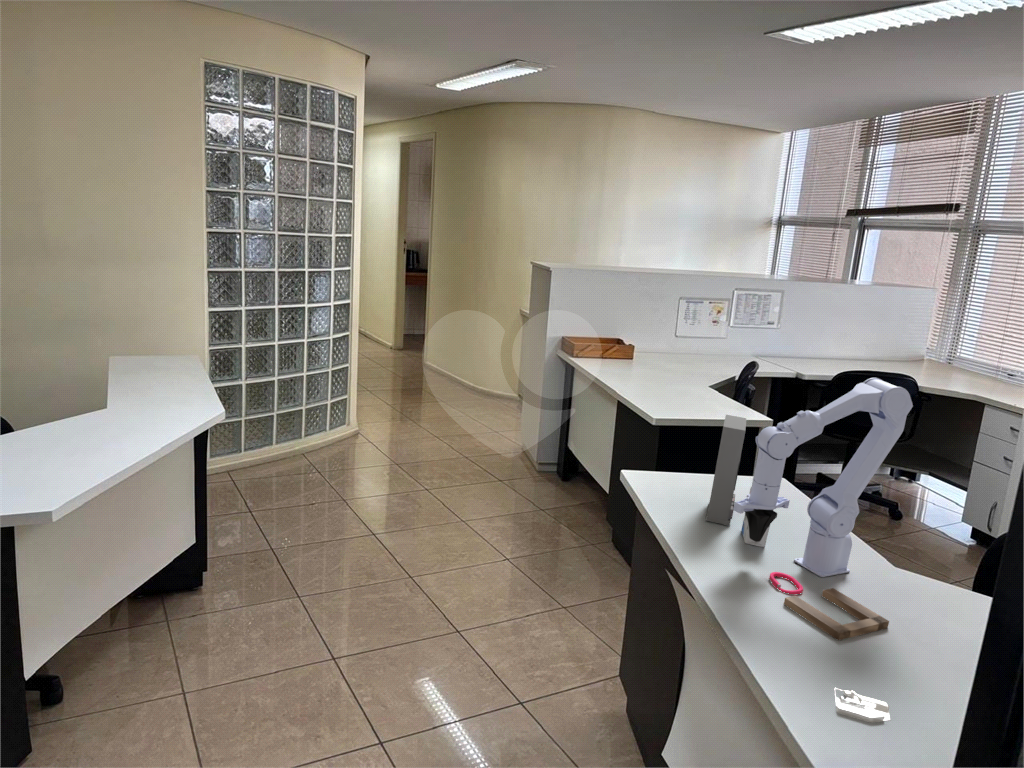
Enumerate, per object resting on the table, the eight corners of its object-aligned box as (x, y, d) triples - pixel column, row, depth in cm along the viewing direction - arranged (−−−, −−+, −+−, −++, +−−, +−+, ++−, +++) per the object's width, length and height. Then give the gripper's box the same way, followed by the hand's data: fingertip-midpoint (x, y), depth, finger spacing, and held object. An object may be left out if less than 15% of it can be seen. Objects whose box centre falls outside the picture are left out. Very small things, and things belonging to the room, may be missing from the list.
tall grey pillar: (730, 527, 180) (748, 431, 174) (705, 521, 182) (722, 426, 176) (732, 508, 193) (749, 418, 187) (709, 503, 195) (725, 414, 189)
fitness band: (763, 576, 156) (764, 570, 155) (789, 578, 156) (790, 571, 156) (780, 595, 148) (781, 589, 148) (807, 597, 149) (808, 590, 148)
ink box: (741, 529, 179) (749, 485, 176) (762, 533, 178) (770, 489, 175) (744, 544, 171) (753, 497, 168) (766, 548, 170) (776, 501, 167)
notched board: (831, 594, 150) (833, 588, 150) (887, 628, 139) (889, 621, 139) (783, 604, 144) (785, 597, 143) (838, 640, 133) (840, 633, 132)
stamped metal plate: (835, 715, 112) (837, 707, 112) (833, 690, 118) (834, 682, 118) (891, 732, 109) (894, 723, 109) (886, 705, 116) (888, 697, 115)
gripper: (776, 473, 163) (765, 528, 166) (728, 477, 156) (717, 535, 159) (801, 484, 157) (788, 542, 160) (752, 489, 150) (740, 549, 153)
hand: (754, 539), depth 159 cm, fingers closed
